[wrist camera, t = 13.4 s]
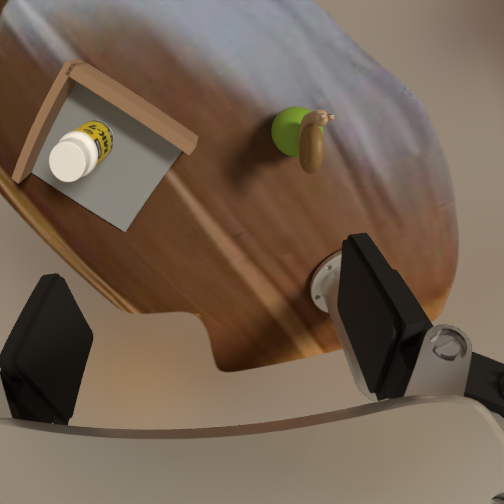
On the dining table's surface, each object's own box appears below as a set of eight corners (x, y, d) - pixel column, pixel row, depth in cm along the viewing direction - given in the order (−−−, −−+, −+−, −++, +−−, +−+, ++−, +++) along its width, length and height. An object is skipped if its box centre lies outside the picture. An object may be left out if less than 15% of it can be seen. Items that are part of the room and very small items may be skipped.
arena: (198, 136, 34) (196, 146, 31) (129, 232, 40) (122, 249, 36) (80, 59, 27) (66, 61, 24) (26, 166, 32) (11, 178, 29)
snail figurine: (316, 95, 33) (360, 116, 23) (313, 149, 36) (351, 190, 26) (268, 94, 32) (293, 112, 22) (267, 149, 36) (289, 190, 26)
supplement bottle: (122, 144, 33) (99, 170, 26) (91, 166, 34) (63, 195, 27) (101, 110, 30) (71, 127, 23) (70, 134, 31) (36, 156, 24)
